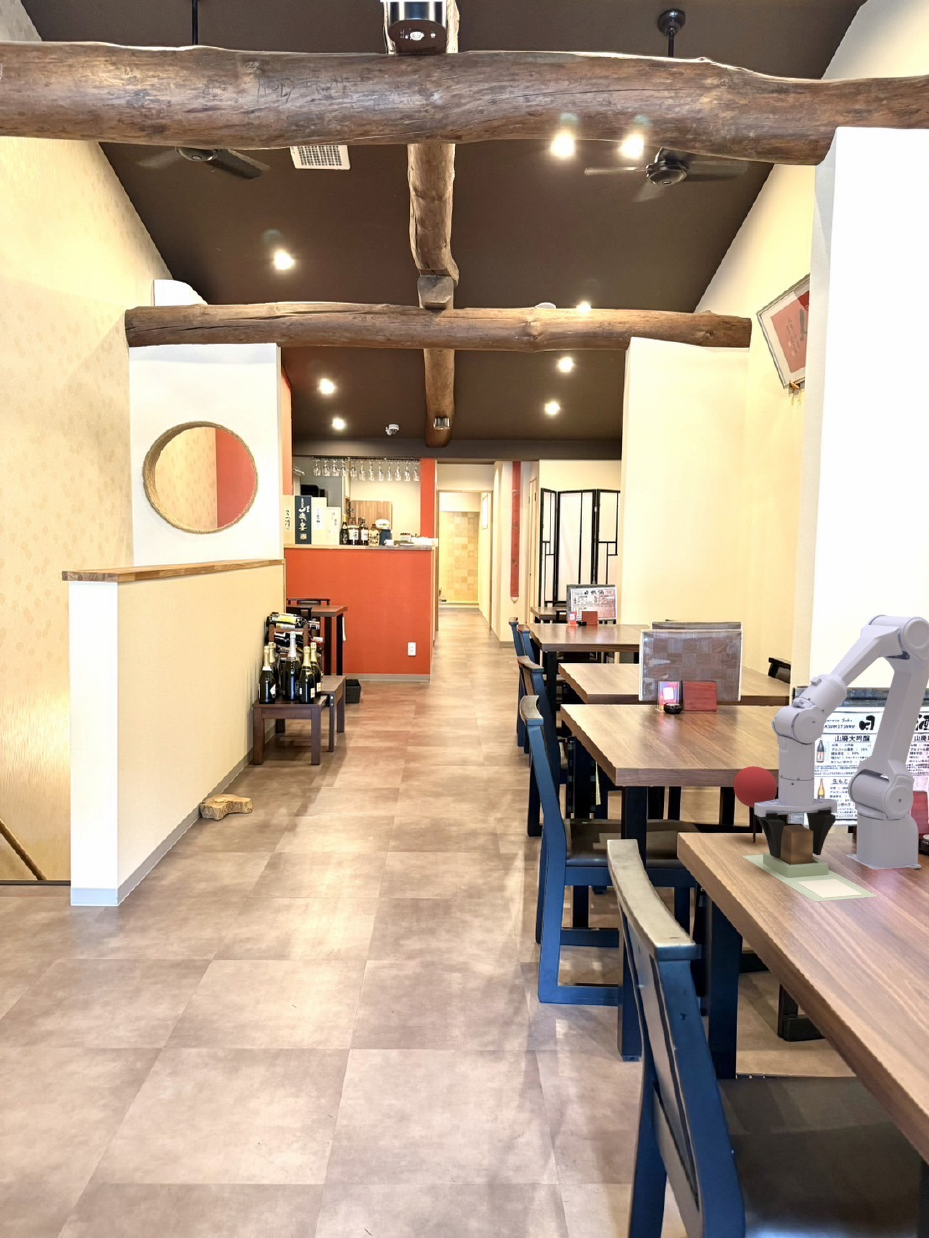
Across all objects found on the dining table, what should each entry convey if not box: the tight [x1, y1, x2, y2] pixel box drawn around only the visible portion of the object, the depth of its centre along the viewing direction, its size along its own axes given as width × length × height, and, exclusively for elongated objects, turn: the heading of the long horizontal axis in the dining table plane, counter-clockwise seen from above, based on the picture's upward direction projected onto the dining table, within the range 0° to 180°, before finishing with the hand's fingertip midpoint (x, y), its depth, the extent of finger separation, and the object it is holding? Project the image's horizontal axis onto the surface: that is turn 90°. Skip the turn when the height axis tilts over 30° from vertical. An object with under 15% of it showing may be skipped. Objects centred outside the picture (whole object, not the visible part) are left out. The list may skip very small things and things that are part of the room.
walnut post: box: [778, 824, 814, 865], centre depth 145 cm, size 4×4×7 cm
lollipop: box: [733, 765, 778, 844], centre depth 159 cm, size 8×8×15 cm
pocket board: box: [741, 852, 879, 903], centre depth 142 cm, size 11×22×2 cm, turn 11°
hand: (795, 855), depth 145 cm, fingers open, 7 cm apart
